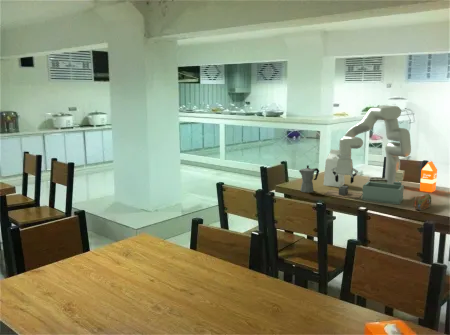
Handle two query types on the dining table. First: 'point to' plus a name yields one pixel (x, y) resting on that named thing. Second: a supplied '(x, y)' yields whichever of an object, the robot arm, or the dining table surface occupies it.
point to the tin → (422, 202)
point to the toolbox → (383, 192)
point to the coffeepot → (308, 179)
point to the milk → (330, 164)
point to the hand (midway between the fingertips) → (344, 182)
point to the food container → (378, 180)
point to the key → (399, 175)
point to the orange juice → (428, 178)
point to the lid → (343, 193)
